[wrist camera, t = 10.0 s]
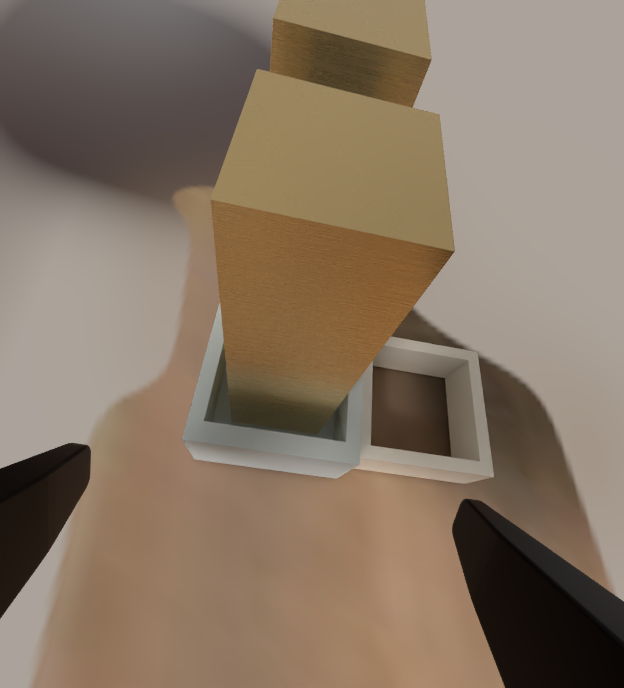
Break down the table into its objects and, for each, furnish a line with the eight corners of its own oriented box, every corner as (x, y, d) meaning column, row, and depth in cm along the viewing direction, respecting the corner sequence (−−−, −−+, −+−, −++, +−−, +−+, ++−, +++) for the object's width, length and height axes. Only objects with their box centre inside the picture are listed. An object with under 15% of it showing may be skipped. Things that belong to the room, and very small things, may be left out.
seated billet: (327, 319, 20) (431, 59, 9) (255, 306, 20) (273, 17, 9) (333, 261, 22) (423, -8, 11) (268, 249, 22) (294, -44, 11)
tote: (464, 483, 18) (494, 477, 16) (342, 466, 18) (356, 457, 16) (453, 370, 22) (477, 352, 19) (349, 352, 21) (362, 331, 19)
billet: (317, 434, 17) (455, 251, 6) (231, 421, 16) (210, 199, 6) (325, 355, 19) (438, 110, 8) (248, 342, 18) (258, 65, 8)
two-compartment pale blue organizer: (336, 478, 18) (359, 464, 14) (194, 459, 17) (181, 439, 13) (350, 264, 24) (369, 218, 21) (248, 244, 23) (249, 193, 20)
